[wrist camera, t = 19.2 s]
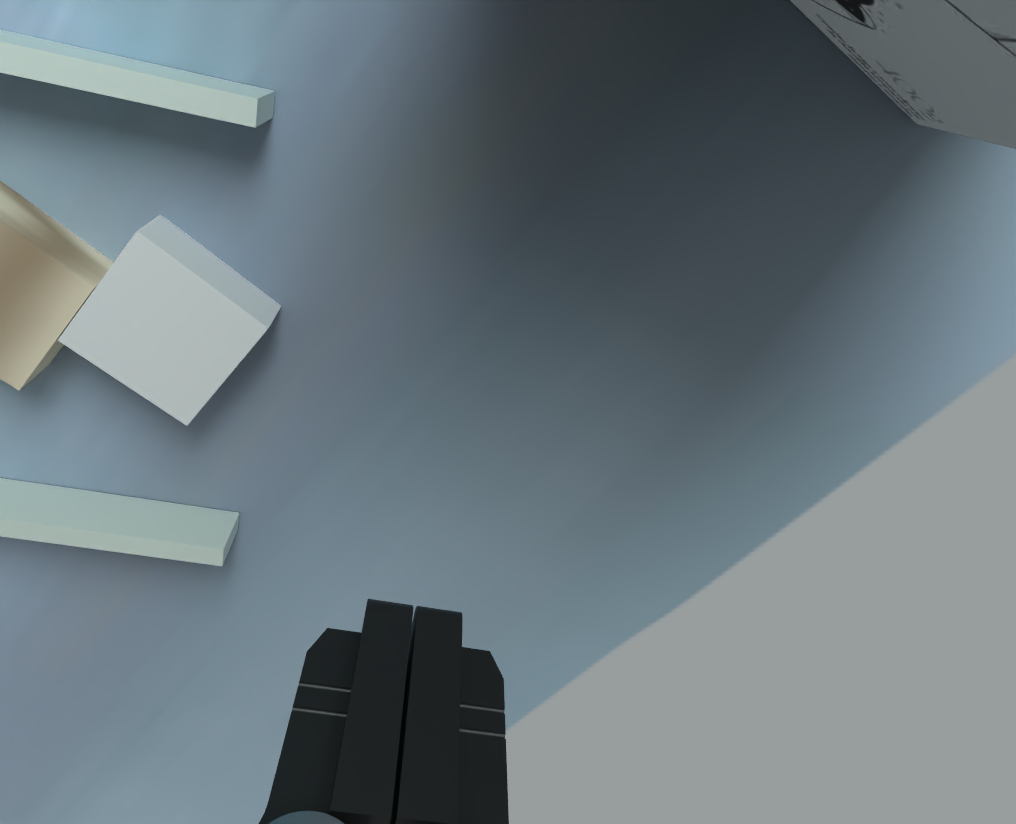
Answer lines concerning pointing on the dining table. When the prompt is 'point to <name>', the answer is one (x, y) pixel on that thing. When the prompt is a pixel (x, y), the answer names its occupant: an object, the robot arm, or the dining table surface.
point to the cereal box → (933, 58)
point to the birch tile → (39, 285)
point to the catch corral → (95, 513)
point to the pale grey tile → (170, 320)
